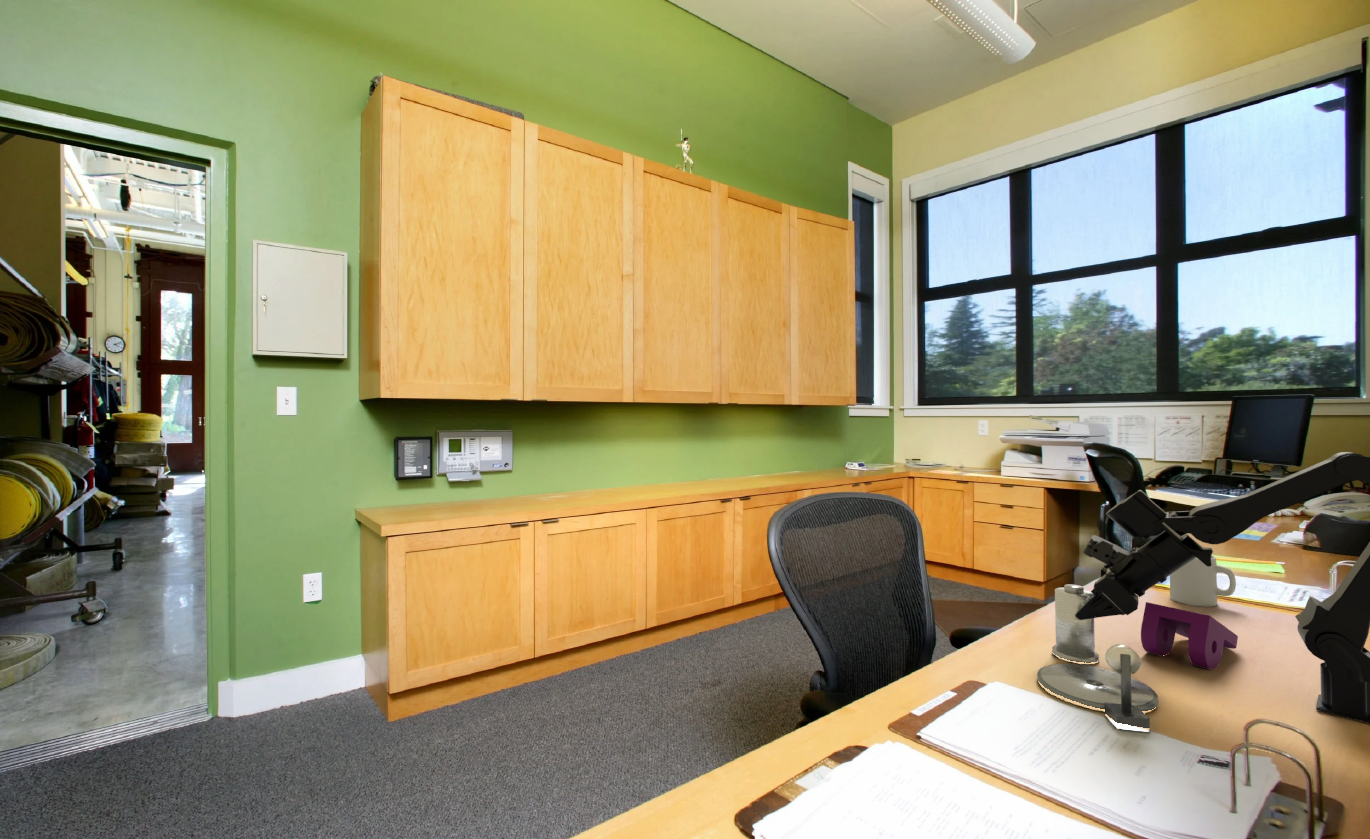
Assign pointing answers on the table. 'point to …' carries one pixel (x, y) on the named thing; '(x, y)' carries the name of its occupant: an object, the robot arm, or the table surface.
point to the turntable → (1094, 686)
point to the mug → (1199, 583)
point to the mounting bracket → (1185, 634)
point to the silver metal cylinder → (1073, 625)
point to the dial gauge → (1125, 686)
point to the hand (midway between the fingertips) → (1080, 610)
